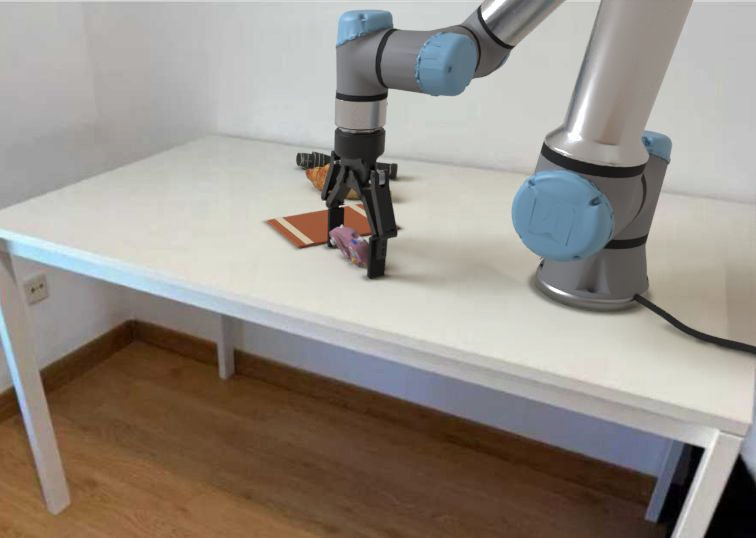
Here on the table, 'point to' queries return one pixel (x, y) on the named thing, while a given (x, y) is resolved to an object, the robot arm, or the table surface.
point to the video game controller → (350, 244)
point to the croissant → (319, 176)
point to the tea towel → (319, 225)
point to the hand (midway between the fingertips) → (354, 260)
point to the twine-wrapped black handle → (323, 160)
